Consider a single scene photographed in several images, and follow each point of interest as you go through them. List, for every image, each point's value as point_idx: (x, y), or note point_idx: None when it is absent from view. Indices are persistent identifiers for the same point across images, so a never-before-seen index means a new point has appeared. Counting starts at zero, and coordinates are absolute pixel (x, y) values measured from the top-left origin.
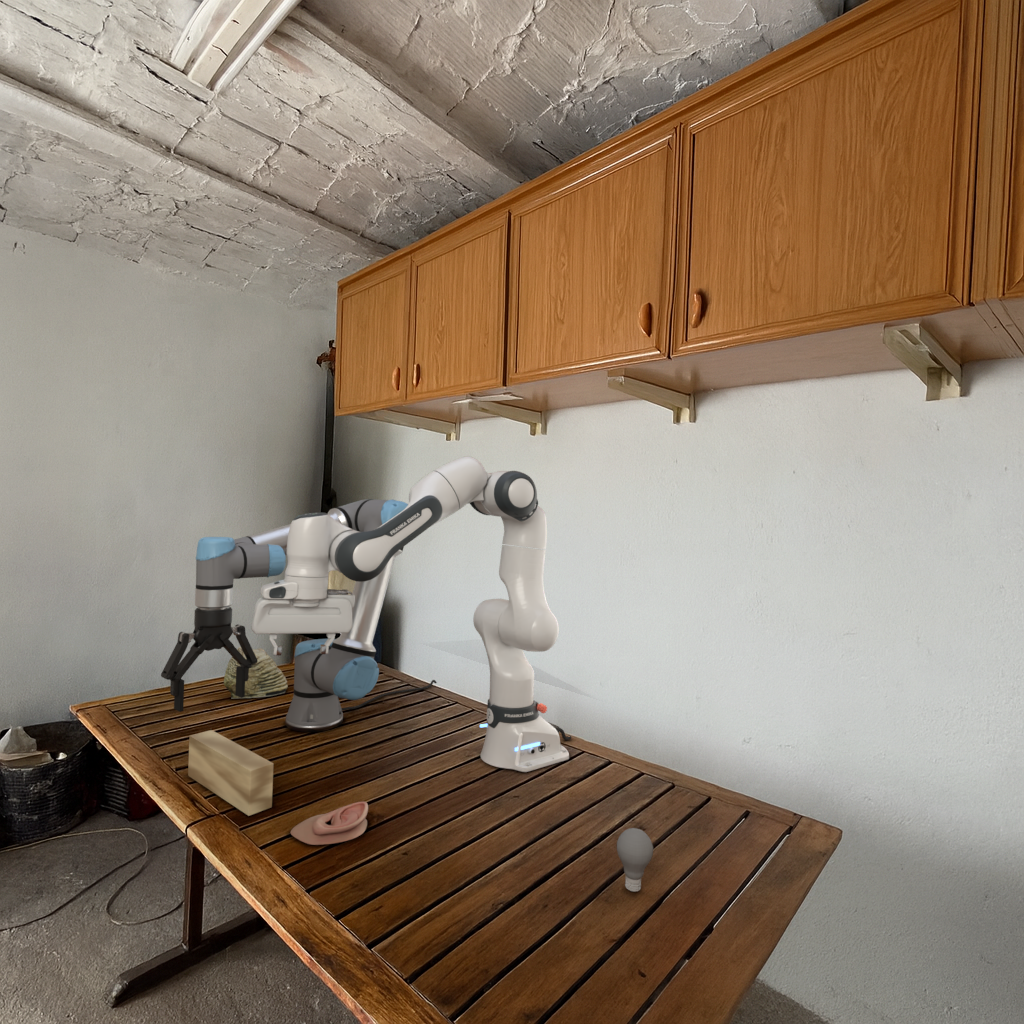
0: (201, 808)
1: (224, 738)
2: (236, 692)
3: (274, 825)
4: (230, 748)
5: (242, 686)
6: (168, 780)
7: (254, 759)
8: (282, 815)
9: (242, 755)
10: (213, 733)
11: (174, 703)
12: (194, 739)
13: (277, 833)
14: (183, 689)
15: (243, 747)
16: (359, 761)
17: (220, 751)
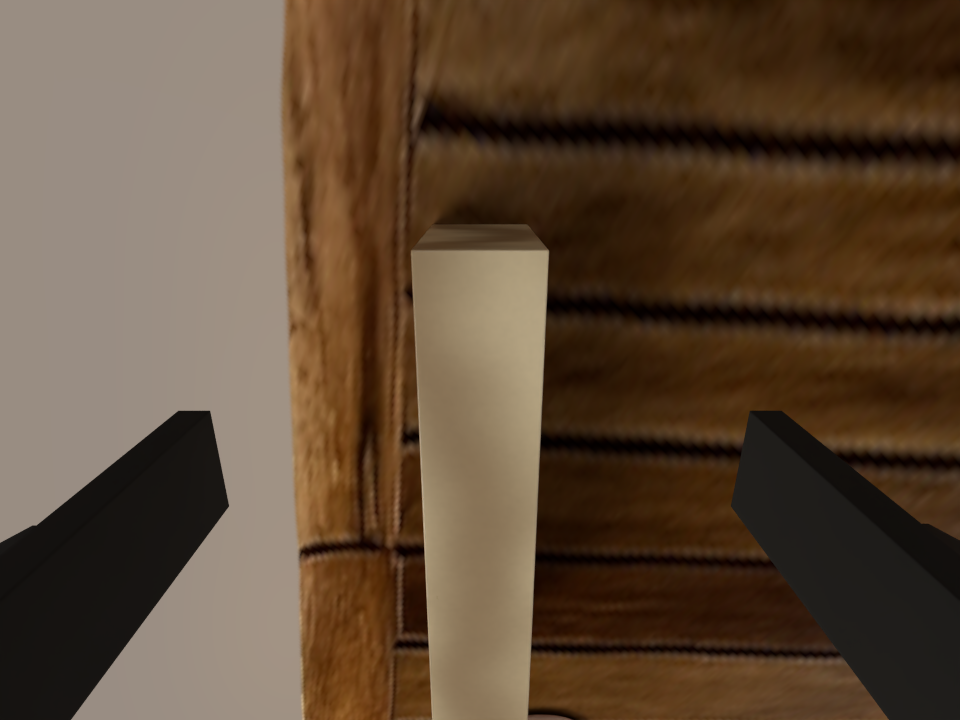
0: (365, 491)
1: (529, 420)
2: (760, 443)
3: None
4: (485, 543)
5: (793, 581)
6: (357, 210)
7: (495, 684)
8: None
9: (482, 630)
10: (526, 313)
11: (152, 440)
12: (414, 315)
13: None
14: (102, 669)
15: (532, 568)
16: None
17: (435, 545)
